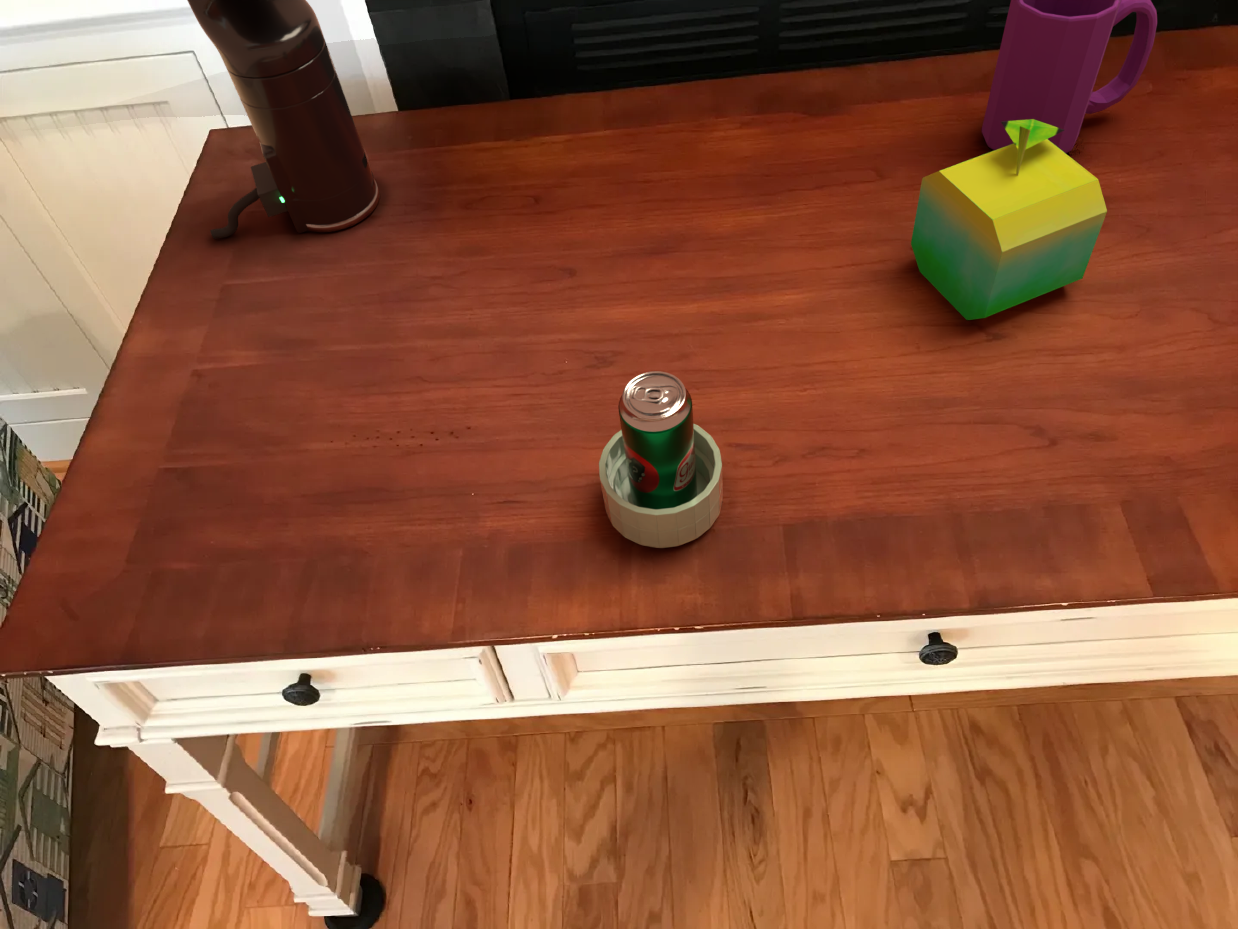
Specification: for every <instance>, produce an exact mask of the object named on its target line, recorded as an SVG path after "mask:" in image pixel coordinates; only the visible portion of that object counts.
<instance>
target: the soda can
mask: <svg viewBox="0 0 1238 929" xmlns="http://www.w3.org/2000/svg"><path fill="white" fill-rule="evenodd" d="M618 417H619V422H620V430H621V431H622V437H623V444H624V451H625V457H626V464H627V471H628V478H629V484H630V491H631V498H632V501H633V504H634V505H636V506H638V507H643V508H649V509H656V510H657V509H666V508H674V507H677V506H680V505H682V504H685V503H687V502H690V501H691V500H693V499H694V498H695V497H697V479H696V461H695V443H694V426H693V424H694V411H693V398H692V396H691V394H690V392H689V390H688V389H687V388H686V387H685V385H684V383H683V381H682V380H681V379H679V378H678V377H677V376H676V375H674V374H672V373H670V372H666V371H661V370H653V371H652V370H651V371H647V372H643V373H640V374H638V375H636V376H634V377H632V378H631V379H630V380H629V381H628V382H627V384H626V385H625V386H624V388H623V391H622V394H621V396H620V398H619V401H618Z"/></svg>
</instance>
